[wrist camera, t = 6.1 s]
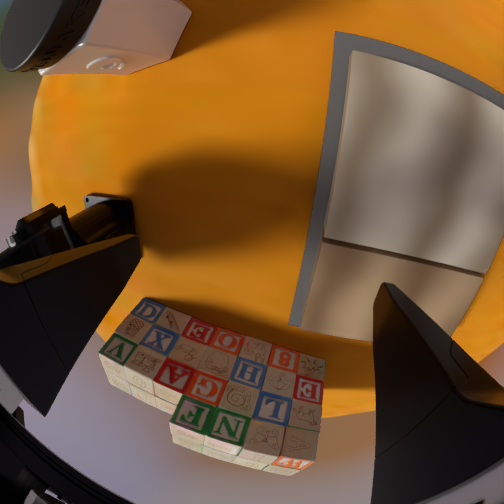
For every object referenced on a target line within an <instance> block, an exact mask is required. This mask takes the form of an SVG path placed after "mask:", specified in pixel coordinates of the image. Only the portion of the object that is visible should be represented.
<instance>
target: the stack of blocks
mask: <svg viewBox="0 0 504 504" xmlns="http://www.w3.org/2000/svg"><path fill="white" fill-rule="evenodd" d="M99 356H100V359H101V361H102V364H103V367H104V369H105V371H106V374H107V377H108V379H109V382H110V383H111V384H112V385H114V386H116V387H117V388H119V389H121V390H123V391H125V392H127V393H128V394H131V395H133V396H134V397H136V398H137V399H139V400H141V401H144V402H146V403H148V404H150V405H152V406H154V407H157V408H158V409H160V410H162V411H165V412H167V413H169V414H172V417H171V419H170V421H169V423H170V429H171V433H172V436H173V442H174V443H176V444H179V445H181V446H184V447H186V448H189V449H192V450H194V451H197V452H200V453H203V454H205V455H208V456H211V457H214V458H217V459H220V460H223V461H227V462H232V463H235V464H239V465H243V466H247V467H251V468H255V469H259V470H264V471H267V472H272V473H277V474H283V475H288V476H291V475H293V474H295V473H297V472H299V471H301V469H304V468H306V467H307V466H309V465H310V464H312V463H314V462H315V458H316V451H317V444H318V435H319V432H320V423H321V415H322V400H323V386H324V383H323V381H324V375H325V360H324V359H320V358H317V357H313V356H309V355H306V354H302V353H300V352H297V351H294V350H291V349H287V348H284V347H281V346H277V345H274V344H271V343H268V342H265V341H262V340H259V339H256V338H253V337H250V336H244V335H241V334H238V333H235V332H232V331H229V330H226V329H224V328H221V327H217V326H214V325H211V324H209V323H206V322H203V321H201V320H198V319H195V318H192V317H191V316H189V315H186V314H184V313H181V312H178V311H176V310H174V309H171V308H169V307H166V306H164V305H162V304H159V303H157V302H154V301H152V300H149V299H147V298H143V299H142V300H141V301H140V302H139V303H138V305H137V306H136V307H135V308H134V309H133V310H132V311H131V312H130V314H129V315H128V316H127V317H126V318H125V319H124V320H123V321H122V323H121V324H120V325H119V326H118V327H117V329H116V330H115V333H114V334H113V335H112V336H111V337H110V338H109V340H108V341H107V342H106V343H105V345H104V346H103V347H102V348H101V350H100V351H99Z"/></svg>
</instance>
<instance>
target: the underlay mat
mask: <svg viewBox="0 0 504 504" xmlns="http://www.w3.org/2000/svg"><path fill="white" fill-rule="evenodd" d="M353 50H354V51H359V52H363V53H368V54H372V55H376V56H379V57H383V58H387V59H390V60H393V61H397V62H400V63H403V64H406V65H409V66H412V67H415V68H418V69H420V70H423V71H426V72H428V73H431V74H434V75H436V76H438V77H441V78H443V79H446V80H448V81H450V82H452V83H455V84H457V85H459V86H461V87H463V88H465V89H467V90H469V91H471V92H473V93H475V94H477V95H479V96H481V97H482V98H484V99H486V100H488V101H490V102H491V103H493V104H495V105H496V106H498V107H500V108H501V109H503V110H504V95H503V94H501V93H500V92H498V91H497V90H495V89H493V88H492V87H490V86H488V85H486V84H485V83H483V82H481V81H479V80H478V79H476V78H474V77H472V76H470V75H468V74H466V73H464V72H462V71H460V70H458V69H456V68H454V67H451V66H449V65H447V64H445V63H442V62H440V61H438V60H435V59H433V58H430V57H428V56H425V55H423V54H420V53H417V52H414V51H412V50H409V49H406V48H403V47H399V46H396V45H393V44H390V43H386V42H383V41H379V40H375V39H371V38H367V37H363V36H358V35H354V34H349V33H344V32H338V31H335V39H334V51H333V63H332V73H331V83H330V92H329V101H328V110H327V118H326V125H325V133H324V140H323V147H322V154H321V160H320V167H319V173H318V179H317V185H316V191H315V197H314V203H313V208H312V214H311V219H310V225H309V230H308V235H307V240H306V245H305V250H304V255H303V260H302V265H301V270H300V274H299V279H298V284H297V288H296V293H295V297H294V301H293V306H292V310H291V314H290V319H289V323H288V325H292V326H297V327H301V320H302V314H303V310H304V306H305V303H306V299H307V295H308V291H309V287H310V283H311V279H312V275H313V271H314V267H315V262H316V258H317V254H318V249H319V245H320V241H321V236H322V231H324V222H325V217H326V212H327V207H328V202H329V197H330V192H331V187H332V181H333V176H334V170H335V164H336V159H337V153H338V146H339V140H340V133H341V126H342V119H343V112H344V104H345V96H346V87H347V78H348V68H349V57H350V55H351V53H352V51H353Z"/></svg>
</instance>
